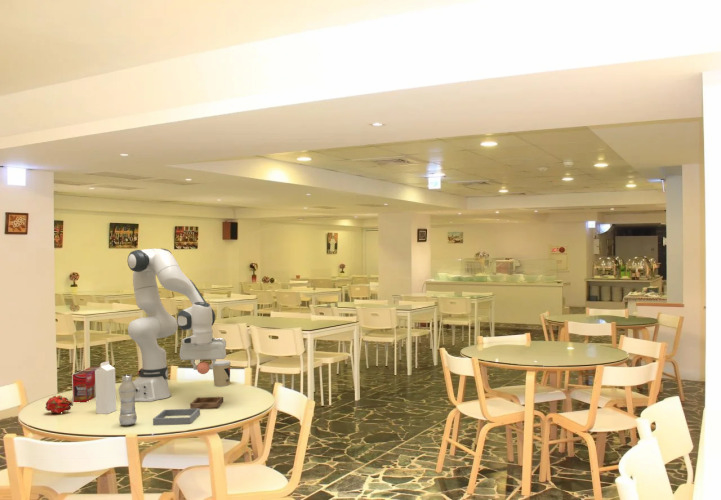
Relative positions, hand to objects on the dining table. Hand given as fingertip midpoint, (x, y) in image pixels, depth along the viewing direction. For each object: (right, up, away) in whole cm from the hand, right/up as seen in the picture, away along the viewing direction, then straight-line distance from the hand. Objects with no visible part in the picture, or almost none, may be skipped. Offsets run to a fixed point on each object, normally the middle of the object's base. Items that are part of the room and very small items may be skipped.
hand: (203, 369), depth 282 cm
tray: (+1, -17, +1) cm, 17 cm away
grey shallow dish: (-6, -17, -22) cm, 28 cm away
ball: (0, +1, 0) cm, 1 cm away
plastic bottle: (-23, -17, -28) cm, 40 cm away
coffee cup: (-2, -17, +46) cm, 50 cm away
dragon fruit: (-63, -19, -4) cm, 65 cm away
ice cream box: (-63, -19, +26) cm, 71 cm away
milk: (-42, -18, -5) cm, 46 cm away
